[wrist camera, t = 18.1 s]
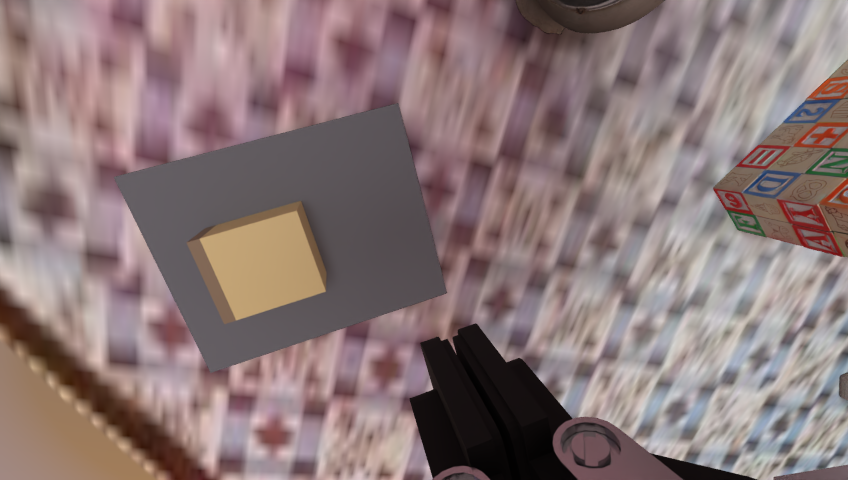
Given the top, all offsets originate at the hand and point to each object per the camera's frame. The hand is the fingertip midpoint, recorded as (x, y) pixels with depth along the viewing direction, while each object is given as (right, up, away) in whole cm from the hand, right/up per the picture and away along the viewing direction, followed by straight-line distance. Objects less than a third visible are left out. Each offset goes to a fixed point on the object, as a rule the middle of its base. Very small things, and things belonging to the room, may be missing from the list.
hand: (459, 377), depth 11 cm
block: (-9, +4, +18) cm, 20 cm away
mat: (-11, +4, +20) cm, 23 cm away
